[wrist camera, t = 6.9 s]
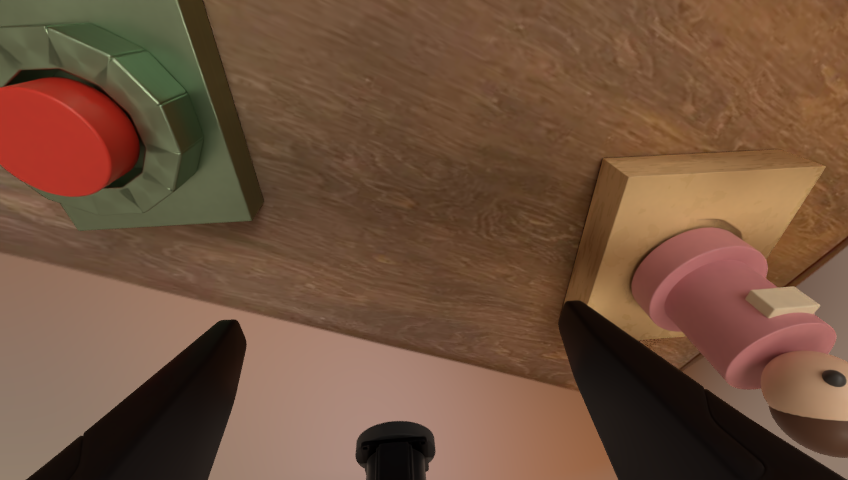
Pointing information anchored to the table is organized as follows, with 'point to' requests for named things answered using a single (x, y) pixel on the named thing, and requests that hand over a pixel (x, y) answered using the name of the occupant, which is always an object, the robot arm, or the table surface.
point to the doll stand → (679, 217)
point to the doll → (750, 331)
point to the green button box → (143, 105)
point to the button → (64, 136)
